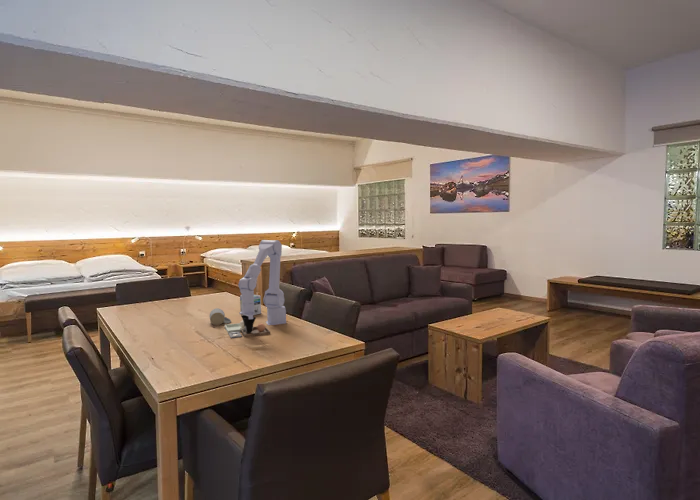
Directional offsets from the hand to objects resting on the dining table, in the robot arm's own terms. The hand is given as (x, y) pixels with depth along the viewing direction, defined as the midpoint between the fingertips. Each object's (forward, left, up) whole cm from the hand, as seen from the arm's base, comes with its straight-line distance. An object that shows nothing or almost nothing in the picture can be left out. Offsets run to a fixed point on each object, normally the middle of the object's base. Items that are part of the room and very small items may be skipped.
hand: (248, 330), depth 197 cm
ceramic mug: (+10, -26, -2) cm, 28 cm away
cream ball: (+1, -10, -1) cm, 10 cm away
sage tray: (+3, -10, -2) cm, 11 cm away
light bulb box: (-9, -42, -2) cm, 43 cm away
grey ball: (0, 0, -1) cm, 1 cm away
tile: (+7, +1, -2) cm, 7 cm away
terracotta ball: (-6, 0, -1) cm, 6 cm away
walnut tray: (-3, 0, -2) cm, 3 cm away
